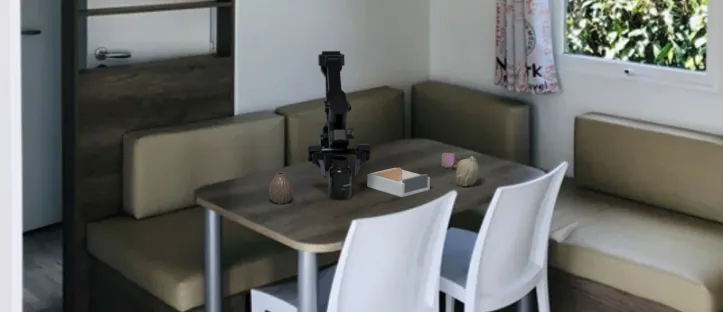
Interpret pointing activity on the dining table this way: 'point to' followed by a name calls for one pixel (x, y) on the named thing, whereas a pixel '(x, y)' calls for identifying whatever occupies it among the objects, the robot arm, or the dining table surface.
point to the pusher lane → (400, 183)
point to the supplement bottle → (340, 179)
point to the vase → (280, 189)
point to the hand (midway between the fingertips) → (340, 177)
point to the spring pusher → (391, 174)
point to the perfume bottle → (449, 160)
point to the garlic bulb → (467, 172)
